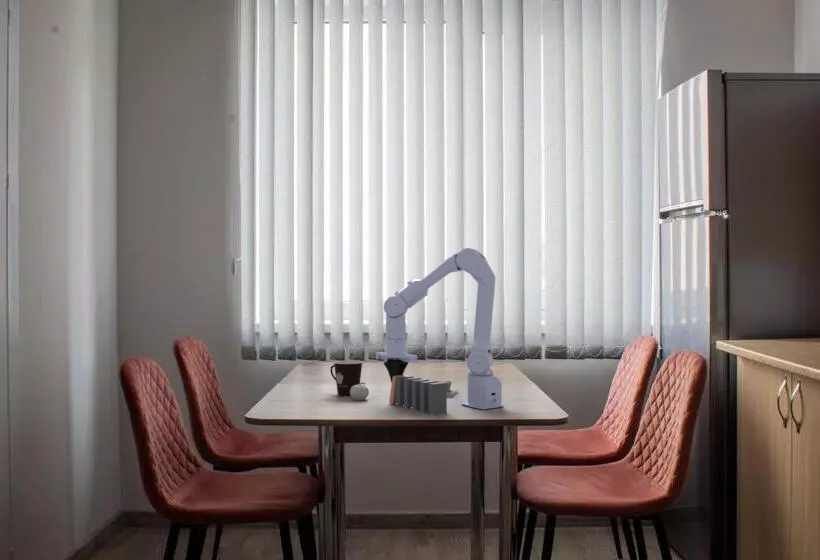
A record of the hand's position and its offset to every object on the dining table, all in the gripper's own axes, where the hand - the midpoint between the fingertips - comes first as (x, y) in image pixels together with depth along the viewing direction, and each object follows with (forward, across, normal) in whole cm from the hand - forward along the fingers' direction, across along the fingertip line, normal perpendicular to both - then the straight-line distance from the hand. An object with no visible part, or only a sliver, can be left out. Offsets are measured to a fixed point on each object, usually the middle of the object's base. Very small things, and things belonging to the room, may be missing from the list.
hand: (396, 385), depth 211 cm
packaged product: (+6, +4, -18) cm, 20 cm away
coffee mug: (+5, +22, -2) cm, 23 cm away
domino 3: (+5, -8, +2) cm, 10 cm away
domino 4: (+5, -12, +3) cm, 13 cm away
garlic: (+5, +12, +3) cm, 13 cm away
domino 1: (+5, -1, 0) cm, 5 cm away
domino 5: (+5, -16, +4) cm, 17 cm away
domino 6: (+5, -19, +4) cm, 20 cm away
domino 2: (+5, -4, +1) cm, 7 cm away
